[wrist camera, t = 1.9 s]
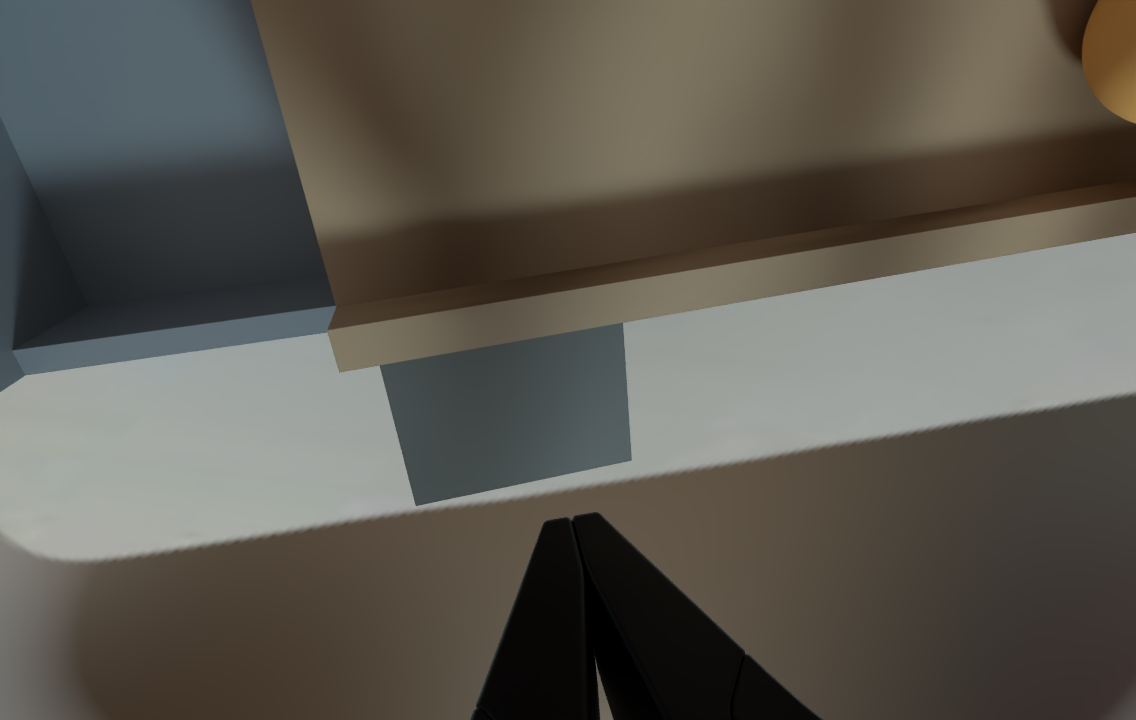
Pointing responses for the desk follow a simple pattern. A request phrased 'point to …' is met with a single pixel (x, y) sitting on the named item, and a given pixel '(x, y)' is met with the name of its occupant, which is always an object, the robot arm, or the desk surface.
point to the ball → (1112, 56)
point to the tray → (146, 187)
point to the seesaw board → (656, 183)
